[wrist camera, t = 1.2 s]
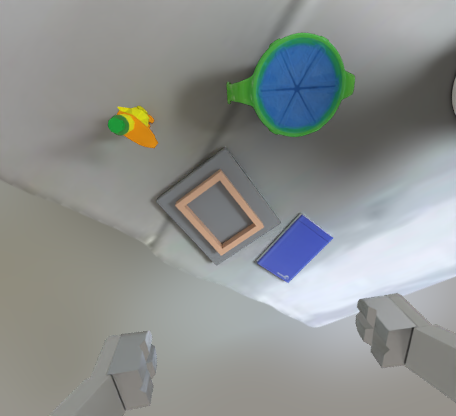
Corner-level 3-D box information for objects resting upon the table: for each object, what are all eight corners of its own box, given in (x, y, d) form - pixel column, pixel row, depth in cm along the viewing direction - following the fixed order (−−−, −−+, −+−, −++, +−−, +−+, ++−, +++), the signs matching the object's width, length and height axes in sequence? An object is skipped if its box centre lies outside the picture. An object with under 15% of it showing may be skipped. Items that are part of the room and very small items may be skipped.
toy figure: (172, 126, 39) (159, 138, 28) (159, 145, 40) (141, 164, 29) (133, 95, 37) (101, 95, 26) (120, 115, 38) (84, 124, 27)
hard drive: (288, 283, 51) (334, 238, 48) (257, 264, 49) (302, 215, 46) (286, 278, 53) (330, 234, 50) (255, 259, 50) (299, 211, 47)
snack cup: (222, 125, 40) (226, 134, 30) (225, 44, 36) (232, 26, 26) (322, 129, 41) (355, 140, 32) (336, 51, 37) (380, 37, 28)
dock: (225, 146, 41) (226, 150, 38) (278, 219, 47) (283, 227, 44) (157, 198, 44) (154, 205, 41) (216, 260, 49) (216, 270, 47)
